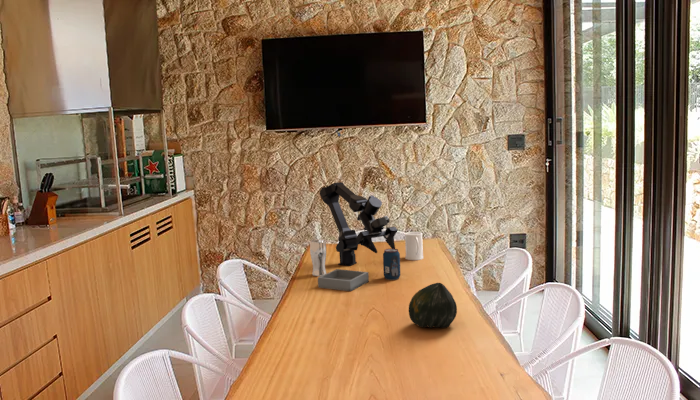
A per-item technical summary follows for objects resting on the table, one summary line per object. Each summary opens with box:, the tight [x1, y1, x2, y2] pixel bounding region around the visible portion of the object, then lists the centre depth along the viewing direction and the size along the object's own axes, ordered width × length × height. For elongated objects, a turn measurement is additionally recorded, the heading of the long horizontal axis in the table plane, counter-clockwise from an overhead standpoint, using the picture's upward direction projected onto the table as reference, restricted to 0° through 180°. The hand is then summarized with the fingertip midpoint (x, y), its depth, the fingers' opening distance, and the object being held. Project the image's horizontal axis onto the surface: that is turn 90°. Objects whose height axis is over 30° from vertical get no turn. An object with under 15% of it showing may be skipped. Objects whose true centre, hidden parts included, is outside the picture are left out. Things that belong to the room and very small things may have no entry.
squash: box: [408, 282, 458, 329], centre depth 196 cm, size 14×15×15 cm
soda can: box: [382, 248, 401, 281], centre depth 256 cm, size 7×7×12 cm
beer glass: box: [309, 238, 327, 277], centre depth 266 cm, size 7×7×15 cm
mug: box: [404, 231, 424, 261], centre depth 288 cm, size 12×8×12 cm
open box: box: [317, 268, 370, 292], centre depth 250 cm, size 15×15×4 cm
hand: (385, 251), depth 258 cm, fingers open, 9 cm apart
